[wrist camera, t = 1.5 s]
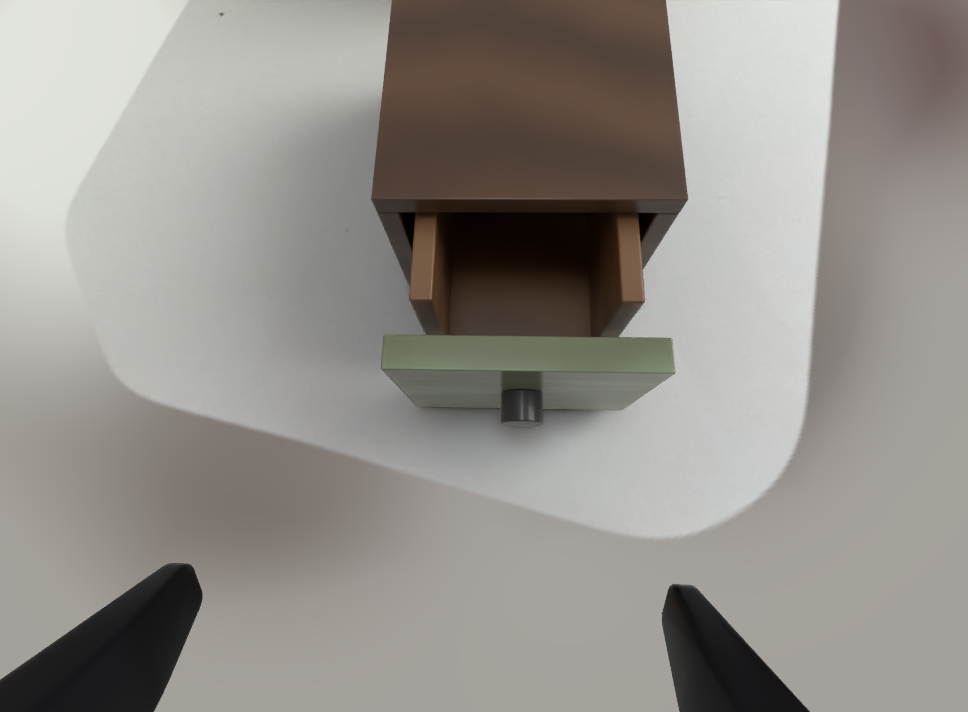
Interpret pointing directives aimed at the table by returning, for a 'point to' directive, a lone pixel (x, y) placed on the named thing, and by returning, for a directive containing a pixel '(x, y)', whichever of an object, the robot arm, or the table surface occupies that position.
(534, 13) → the cabinet
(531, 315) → the drawer
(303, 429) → the table surface
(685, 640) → the robot arm
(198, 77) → the table surface
